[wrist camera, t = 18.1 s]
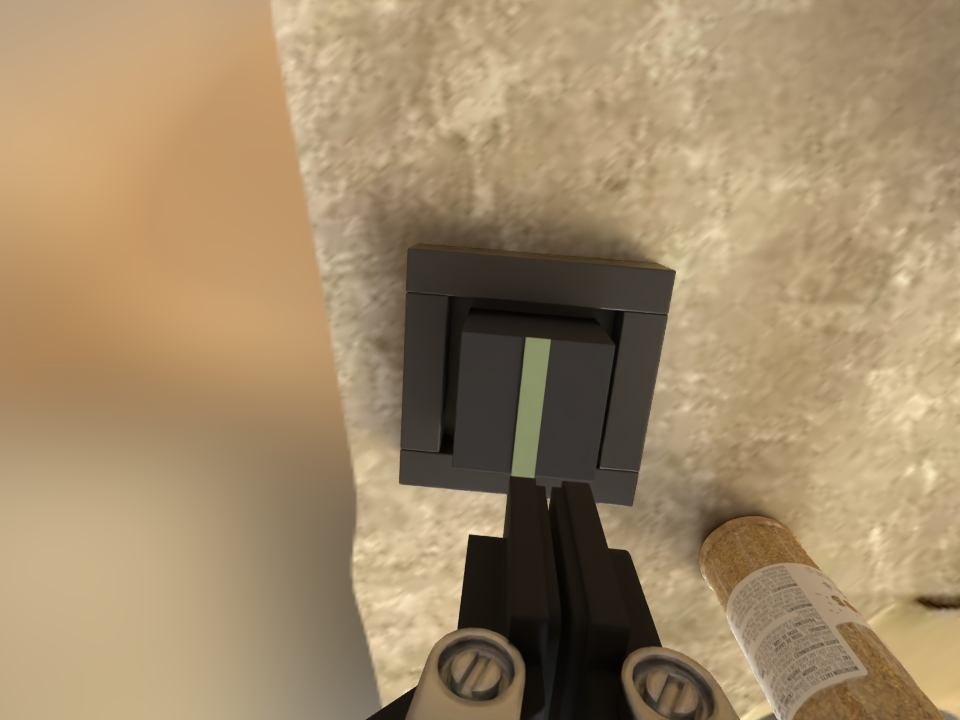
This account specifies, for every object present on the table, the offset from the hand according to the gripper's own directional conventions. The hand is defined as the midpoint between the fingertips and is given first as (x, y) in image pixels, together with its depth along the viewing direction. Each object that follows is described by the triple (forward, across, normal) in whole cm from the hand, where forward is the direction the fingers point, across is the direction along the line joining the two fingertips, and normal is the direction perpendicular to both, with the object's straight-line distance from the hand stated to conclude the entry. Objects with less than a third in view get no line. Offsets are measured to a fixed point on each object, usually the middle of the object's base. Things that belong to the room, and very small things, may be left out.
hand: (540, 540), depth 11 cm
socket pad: (+12, 0, 0) cm, 12 cm away
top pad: (+11, 0, 0) cm, 11 cm away
